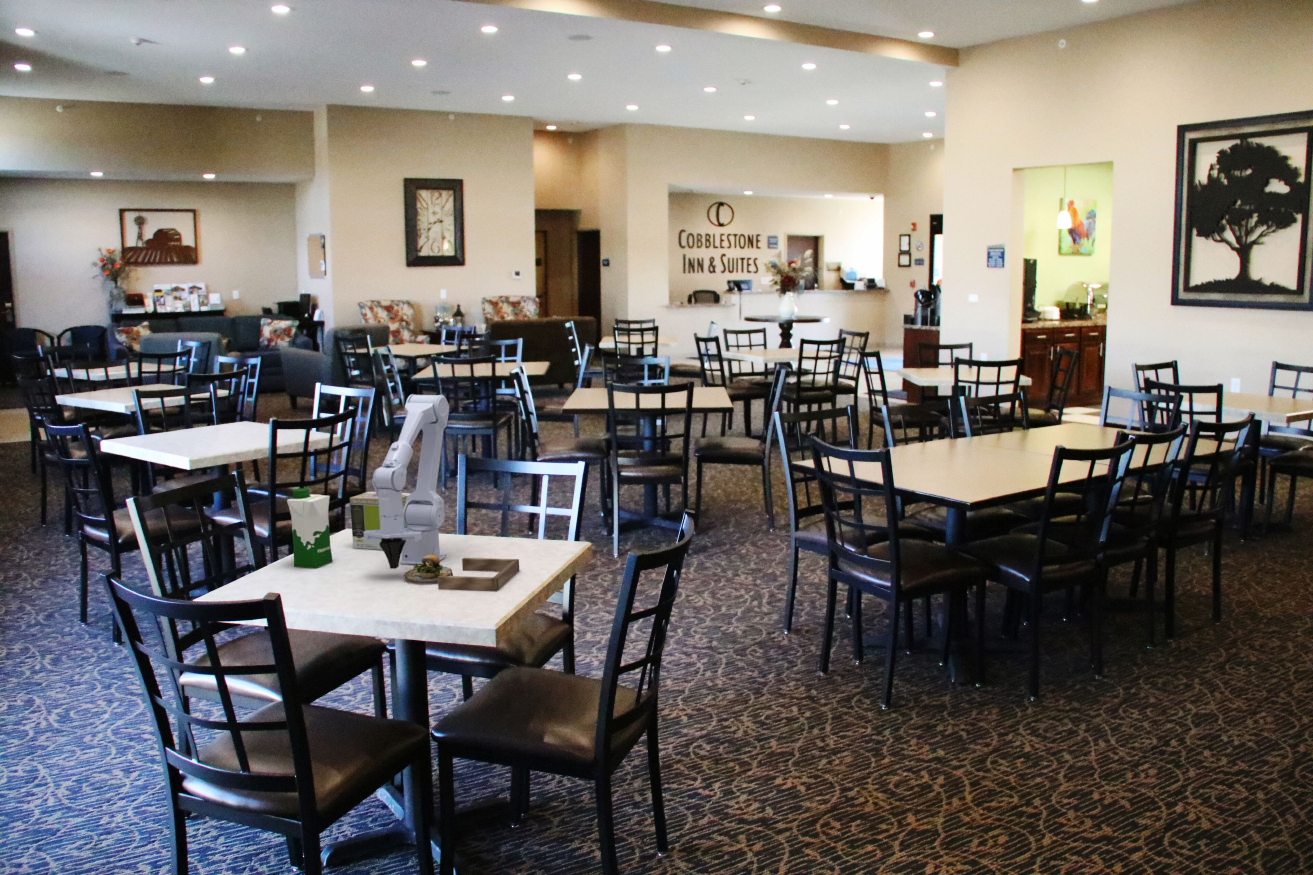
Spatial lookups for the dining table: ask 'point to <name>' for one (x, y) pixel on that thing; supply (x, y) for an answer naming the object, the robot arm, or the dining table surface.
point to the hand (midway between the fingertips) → (394, 567)
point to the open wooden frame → (504, 567)
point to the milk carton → (310, 529)
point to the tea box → (367, 518)
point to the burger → (428, 570)
